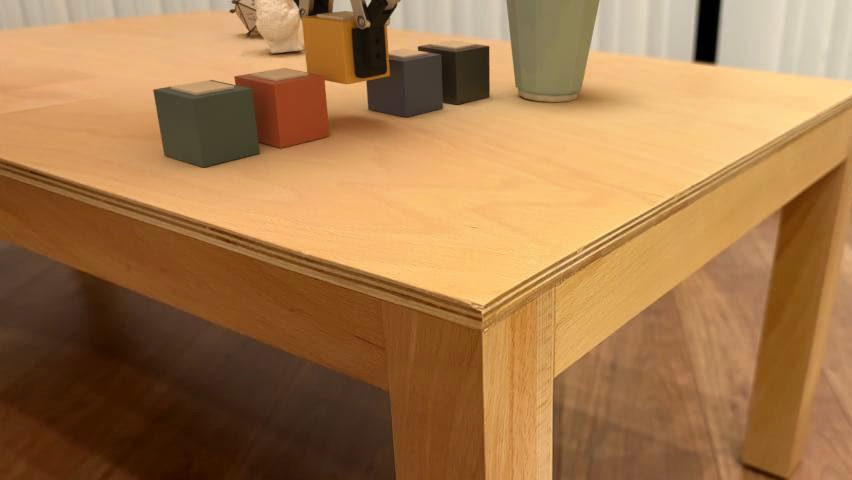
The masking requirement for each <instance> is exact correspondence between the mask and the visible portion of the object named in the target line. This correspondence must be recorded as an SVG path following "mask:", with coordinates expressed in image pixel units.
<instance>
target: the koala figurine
mask: <svg viewBox="0 0 852 480" xmlns="http://www.w3.org/2000/svg"><path fill="white" fill-rule="evenodd" d="M254 2H255V7H256V15H257V20H256V26H257V30H258V31H259V32H258V33H259V34H260V36H261V37H262V38H263V40H264V41H265V42H266V43H267V45H268V47H269V53H271V54H280V53H289V52H300V51H304V49H305V46H304V42H302V41H301V40H300V39H299V36H298V32H299V30H300V26H301V23H300V22H301V19H300V17H299V8H295V5H294V4H295V2H294V1H293V0H254Z"/></svg>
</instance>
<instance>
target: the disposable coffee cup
mask: <svg viewBox="0 0 852 480" xmlns="http://www.w3.org/2000/svg"><path fill="white" fill-rule="evenodd" d="M600 1H601V0H505V2H506V9H507V17H508V18H507V19H508V29H509V38H510V39H509V40H510V46H511V56H512V65H513V75H514V85H515V88H516V89H517V93H518V96H520V97H521V98H523V99H526V100H532V101H535V102H545V103H546V102H548V103H560V102H571V101H575V100H577V99H578V97H579V93H581V92H582V88H583V82H584V78H585V73H586V68H587V65H588V64H587V63H588V58H589V54H590V49H591V44H592V39H593V34H594V30H595V25H596V20H597V16H598V10H599V5H600Z"/></svg>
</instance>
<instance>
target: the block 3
mask: <svg viewBox="0 0 852 480" xmlns="http://www.w3.org/2000/svg"><path fill="white" fill-rule="evenodd" d="M388 53H389V69H390V76H388V77H383V78H378V79H373V80H368V81H365V82H366V83H365V84H366V97H367V98H366V99H367V109H368V110H369V111H373V112H374V111H375V112H379V113H385V114H388V115H393V116H399V117H403V118H409V117H413V116H418V115H421V114H425V113H430V112H433V111H438V110H442V109H444V102H443V90H442V55H441V54H434V53H428V52H422V51H418V50H415V49H409V48H397V49H391V50H388Z"/></svg>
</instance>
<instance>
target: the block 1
mask: <svg viewBox="0 0 852 480" xmlns="http://www.w3.org/2000/svg"><path fill="white" fill-rule="evenodd" d="M152 91H153V97H154V102H155V108H156V115H157V121H158V126H159V133H160V138H161V143H162V151H163V155H164V157H168V158H171V159H175V160H178V161H182V162H184V163H187V164H191V165H194V166H198V167H200V168H207V167H211V166H216V165H219V164H223V163H228V162H231V161H236V160H240V159H243V158H247V157H251V156H255V155H256V156H257V155H259V154H260V151H261V150H260V144H259V143H260V142H258V135H257V127H256V118H255V110H254V102H253V94H252V89H251V88H247V87H242V86H238V85H235V84H233V83H228V82H224V81H219V80H216V79H215V80H213V79H207V80H201V81H195V82H190V83H189V82H188V83H183V84H177V85H171V86H166V87H159V88H154V89H152Z"/></svg>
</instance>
